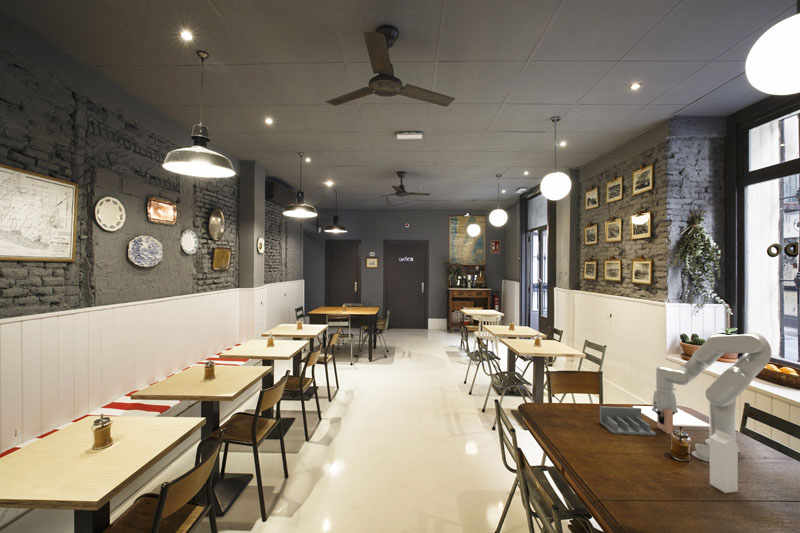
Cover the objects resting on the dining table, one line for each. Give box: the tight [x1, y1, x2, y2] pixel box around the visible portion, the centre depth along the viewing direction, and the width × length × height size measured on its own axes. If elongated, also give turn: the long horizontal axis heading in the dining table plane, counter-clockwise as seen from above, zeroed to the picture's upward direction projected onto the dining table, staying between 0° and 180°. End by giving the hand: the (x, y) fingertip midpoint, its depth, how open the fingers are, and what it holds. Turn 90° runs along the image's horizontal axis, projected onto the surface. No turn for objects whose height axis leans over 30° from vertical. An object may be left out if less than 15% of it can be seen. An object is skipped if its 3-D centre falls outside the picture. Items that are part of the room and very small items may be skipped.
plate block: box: [656, 410, 674, 435], centre depth 192 cm, size 8×3×12 cm, turn 176°
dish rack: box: [599, 405, 657, 436], centre depth 194 cm, size 14×22×9 cm, turn 86°
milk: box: [709, 429, 739, 494], centre depth 141 cm, size 6×6×22 cm
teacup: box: [691, 443, 710, 463], centre depth 164 cm, size 10×10×5 cm
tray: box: [632, 405, 709, 428], centre depth 212 cm, size 28×28×2 cm
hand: (664, 423), depth 192 cm, fingers closed on plate block, 3 cm apart
